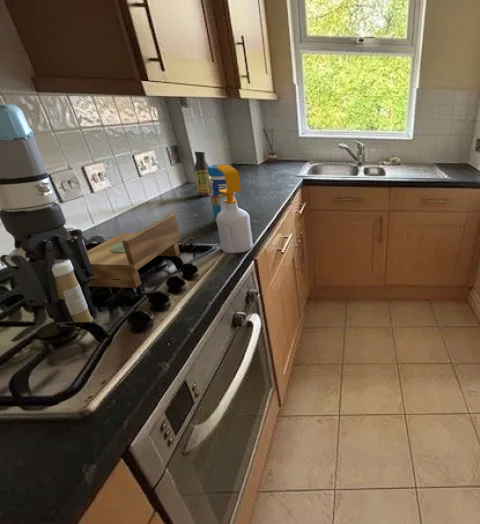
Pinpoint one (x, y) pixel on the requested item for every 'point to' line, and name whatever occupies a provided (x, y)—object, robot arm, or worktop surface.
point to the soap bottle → (233, 216)
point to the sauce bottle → (202, 174)
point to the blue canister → (217, 189)
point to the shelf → (132, 253)
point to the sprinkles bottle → (70, 291)
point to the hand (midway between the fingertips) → (78, 321)
